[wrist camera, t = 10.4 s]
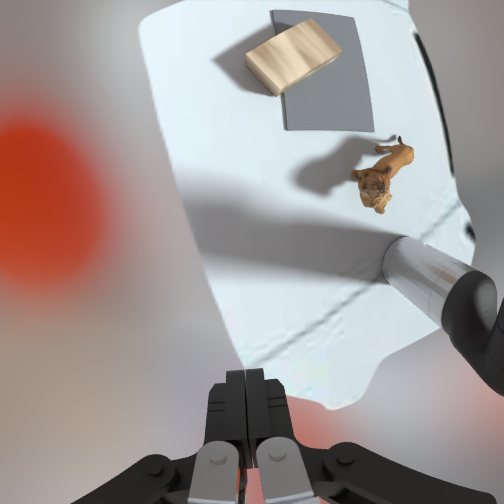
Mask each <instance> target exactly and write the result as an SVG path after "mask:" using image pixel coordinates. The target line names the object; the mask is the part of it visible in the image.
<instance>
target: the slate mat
mask: <svg viewBox="0 0 504 504" xmlns="http://www.w3.org/2000/svg"><path fill="white" fill-rule="evenodd" d="M273 18H274V24H275V31H276V36H277V35H278V34H280V33H282V32H284V31H286V30H288V29H290V28H292V27H294V26H296V25H298V24H300V23H302V22H304V21H306V20H308V19H310V18H311V19H312V20H313V21H314V22H315V23H316V24H317V25H318V26H320V27H321V28H322V29H323V30H324V31H325V32H326V33H327V34H328V35H329V37H330V38H331V39H332V40H333V41H334V42H335V43H336V44H337V45H338V46H339V47H340V48H341V49H342V50H343V51H342V52H341V53H340V55H339V56H338V57H337V58H336V59H335V60H334V61H332V62H330V63H328V64H327V65H325V66H323V67H322V68H320V69H318V70H317V71H315V72H313V73H312V74H310V75H309V76H307V77H305V78H304V79H302V80H301V81H299V82H298V83H296V84H295V85H293V86H291V87H290V88H288V89H287V90H286V91H284V92H283V93H284V102H285V112H286V122H287V131H290V130H337V131H360V132H374V122H373V113H372V106H371V98H370V92H369V85H368V79H367V74H366V68H365V63H364V58H363V53H362V49H361V44H360V40H359V36H358V32H357V28H356V24H355V20H354V18H352V17H347V16H341V15H334V14H327V13H318V12H308V11H293V10H273Z"/></svg>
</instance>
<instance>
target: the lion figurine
mask: <svg viewBox="0 0 504 504" xmlns="http://www.w3.org/2000/svg"><path fill="white" fill-rule="evenodd" d="M398 142H399V144H400V145H394V146H377V147H376V151H377V152H378V153H381V152H383V151H386V150H389V151H390V152H392V153H391V154H390V155H387V156H385V157H383V158H381V159H380V160H379V161H378V162H377V163H376V164H375V165H374V166H373V168H367V169H363V170H354V171H353V172H352V176H353V177H354V178H357V177H359V180H360V181H359V182H358V188H359V190H360V198H361V201H362V203H363V205H364V206H365V207H370V208H371V207H372V208H374V209H375V211H376V212H377V213H380V214H384V212H385V210H384V207H385V206H386V204H387V202H388V201H389V200H391V198H392V195H390V191H389V186H390V181H389V180H390V179H391V178H392V177H393V176H394V175H395V174H396V173H397V172H398V171H399V169H400V168H401V167H403V166H404V165H408V164H410V163H411V162H412V161H413V159H414V149H413V148H412V147H410V146H407V145H405V144H403V143H402V140H401V136H399V137H398Z"/></svg>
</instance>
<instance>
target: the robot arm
mask: <svg viewBox="0 0 504 504" xmlns="http://www.w3.org/2000/svg"><path fill="white" fill-rule="evenodd" d="M382 270H383V275H384V277H385V279H386V280H387V281H388V282H389V283H390V284H391V285H392V286H393V287H395V288H396V289H397V290H398V291H399V292H400V293H402V294H403V295H404V296H405V297H406V298H407V299H409V300H410V301H411V302H412V303H413V304H414V305H416V306H417V307H418V308H419V309H420V310H421V311H423V312H424V313H425V314H426V315H427V316H428V317H429V318H430V319H432V320H433V321H434V322H435V323H436V324H437V325H438V326H440V327H441V328H442V329H443V330H444V331H445V332H446V333H447V334H448V335H449V337H450V340H451V342H452V344H453V346H454V347H455V348H456V349H457V350H458V352H459V353H460V354H461V355H462V356H463V357H464V358H465V359H466V361H467V362H468V363H469V364H470V365H471V367H472V368H473V369H474V370H475V371H476V373H477V374H478V375H479V376H480V377H481V379H482V380H483V381H484V382H485V383H486V384H487V385H488V386H489V387H490V388H491V389H493V390H494V391H495V392H496V393H498V394H499V395H501V396H503V397H504V298H503V301H502V303H501V306H500V309H499V312H498V315H497V290H496V286H495V283H494V282H493V280H492V279H491V278H490V277H489V276H487V275H486V274H484V273H482V272H480V271H478V270H476V269H475V268H473V267H471V266H469V265H467V264H465V263H463V262H461V261H459V260H457V259H455V258H453V257H451V256H449V255H447V254H445V253H443V252H441V251H439V250H437V249H435V248H433V247H431V246H429V245H427V244H425V243H423V242H421V241H418V240H416V239H414V238H412V237H402V238H399V239H398V240H396V241H394V242H393V243H392V244H391V245H390V247H389V248H388V249H387V251H386V253H385V256H384V259H383V264H382ZM207 411H208V412H207V418H206V428H205V439H204V444H203V446H202V447H201V448H200V449H199V451H198V452H197V453H196V454H194V455H192V456H189V457H186V458H182V459H177V460H172V461H171V460H170V459H168V457H166V456H163V455H159V454H154V455H148V456H146V457H144V458H142V459H141V460H139V461H138V462H137V463H135V464H134V465H132V466H131V467H129V468H128V469H126V470H125V471H123V472H122V473H120V474H119V475H117V476H116V477H114V478H113V479H111V480H110V481H108V482H107V483H105V484H103V485H102V486H100V487H98V488H97V489H95V490H94V491H92V492H90V493H89V494H87V495H85V496H83V497H82V498H80V499H78V500H76V501H75V502H73V503H71V504H246V497H247V469H251V468H253V463H252V457H253V462H254V467H255V468H259V474H260V480H261V485H262V491H263V496H264V501H265V504H321V503H320V501H319V499H318V497H317V496H319V497H321V498H322V499H323V500H325V501H327V502H329V503H330V504H497V502H496V499H495V498H494V496H492V495H491V494H489V493H485V492H481V491H476V490H473V489H469V488H465V487H462V486H458V485H455V484H452V483H449V482H446V481H443V480H440V479H437V478H434V477H431V476H429V475H426V474H423V473H421V472H418V471H415V470H413V469H410V468H408V467H405V466H403V465H401V464H398V463H396V462H394V461H391V460H389V459H387V458H385V457H382V456H380V455H378V454H376V453H374V452H372V451H370V450H368V449H366V448H364V447H362V446H360V445H358V444H355V443H352V442H342V443H338V444H336V445H334V446H332V447H331V448H330V449H314V448H309V447H306V446H304V445H302V444H300V443H299V442H298V441H297V440H296V438H295V436H294V433H293V428H292V424H291V418H290V413H289V409H288V404H287V399H286V394H285V389H284V386H283V385H282V384H281V383H280V381H279V380H278V379H268V380H264V372H263V368H258V369H247V370H246V378H245V371H244V370H235V371H227V372H226V383H218V384H214V386H213V388H212V389H211V390H210V392H209V398H208V408H207Z"/></svg>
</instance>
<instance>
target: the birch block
mask: <svg viewBox="0 0 504 504" xmlns="http://www.w3.org/2000/svg"><path fill="white" fill-rule="evenodd" d="M342 51H343V50H342V49H341V48H340V47H339V46H338V45H337V44H336V43H335V42H334V41H333V40H332V39H331V38H330V37H329V35H328V34H327V33H326V32H325V31H324V30H323V29H322V28H321V27H320V26H318V25H317V24H316V23H315V22H314V21H313V20H312V19H311V18H310V19H308V20H306V21H304V22H302V23H300V24H298V25H296V26H294V27H292V28H290V29H288V30H286V31H284V32H282V33H280V34H278V35H277V36H275V37H273V38H271V39H270V40H268V41H266V42H264V43H263V44H261V45H259V46H258V47H256V48H254V49H253V50H251V51H249V52H248V53H246V57H245V65H246V66H247V67H248V68H249V69H250V70H251V71H252V72H253V73H254V74H255V75H256V76H257V77H258V78H259V79H260V80H261V81H262V82H263V84H264V85H265V86H266V87H267V88H268V89H269V90H270V91H271V92H272V93H273V94H274V96H275V97H277V96H278V95H280V94H281V93H283V92H284V91H286V90H287V89H288V88H290V87H291V86H293V85H295V84H296V83H298V82H299V81H301V80H302V79H304V78H305V77H307V76H309V75H310V74H312V73H313V72H315V71H317V70H318V69H320V68H322V67H323V66H325V65H327V64H328V63H330V62H332V61H334V60H335V59H336V58H337V57H338V56H339V55H340V53H341V52H342Z"/></svg>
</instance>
